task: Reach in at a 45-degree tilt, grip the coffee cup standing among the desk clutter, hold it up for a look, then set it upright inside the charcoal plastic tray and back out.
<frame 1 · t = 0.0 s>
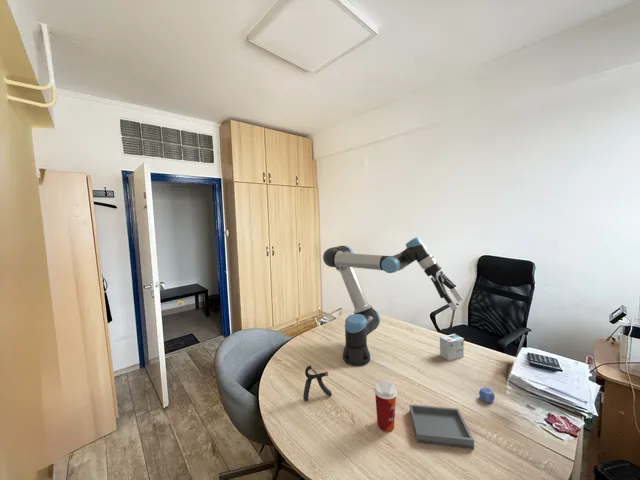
hand: (458, 304, 117), 36 cm above the table, tool tilted 35°, fingers open, 13 cm apart
light bulb box: (451, 356, 138), on the table
coffee cup: (385, 425, 94), on the table
hand grip strengthener: (317, 398, 109), on the table
decorative dice: (486, 399, 105), on the table
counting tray: (438, 428, 92), on the table
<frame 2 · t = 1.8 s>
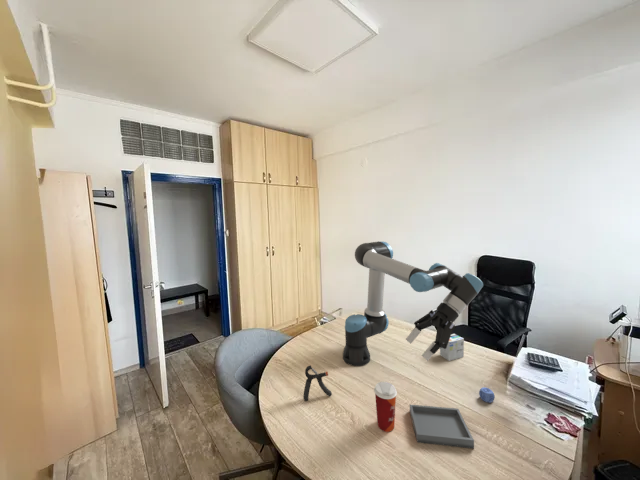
hand: (415, 349, 98), 26 cm above the table, tool tilted 45°, fingers open, 13 cm apart
nothing on the table moved.
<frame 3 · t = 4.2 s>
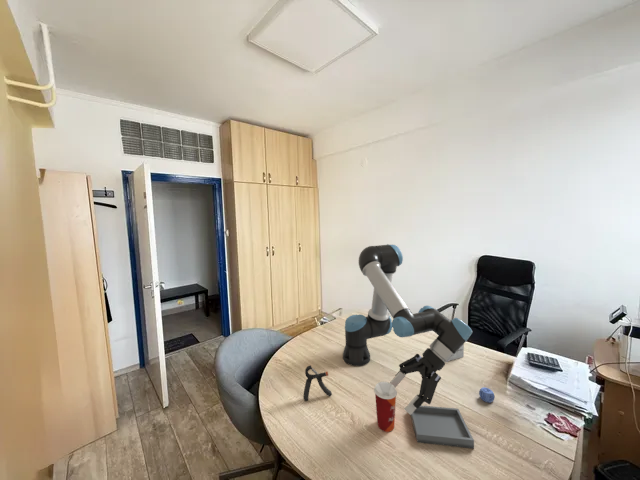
hand: (399, 398, 92), 11 cm above the table, tool tilted 45°, fingers open, 13 cm apart
nothing on the table moved.
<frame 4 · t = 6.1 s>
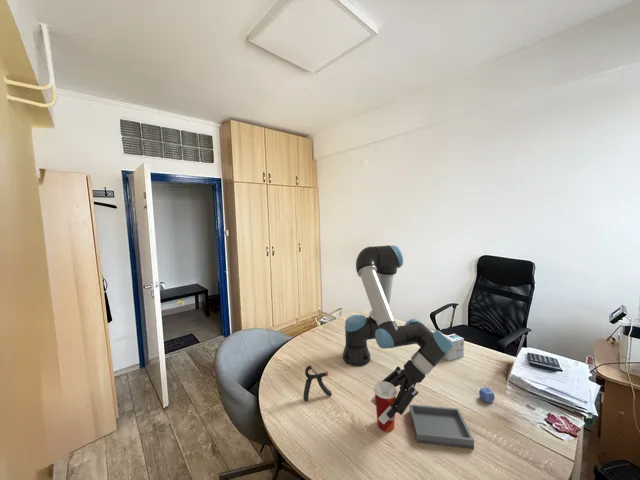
hand: (376, 411, 93), 6 cm above the table, tool tilted 45°, fingers closed on coffee cup, 8 cm apart
coffee cup: (385, 425, 94), on the table, touching gripper
everything else where it was.
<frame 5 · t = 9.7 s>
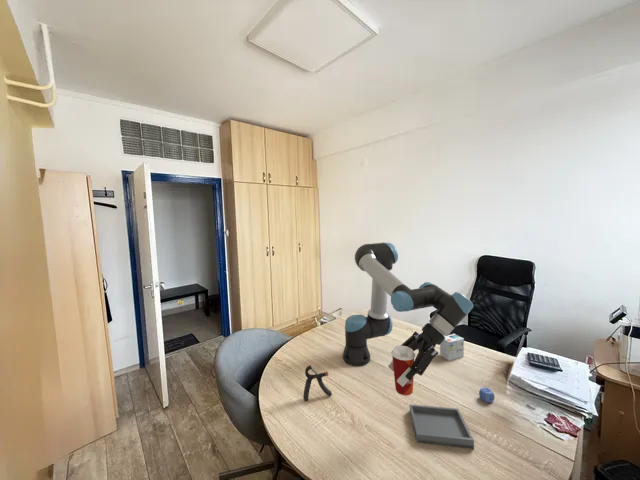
hand: (394, 375, 90), 21 cm above the table, tool tilted 45°, fingers closed on coffee cup, 8 cm apart
coffee cup: (404, 390, 91), point 15 cm above the table, touching gripper
everything else where it was.
when the fingers open (8 cm above the table, at t = 13.4 s): coffee cup drops 1 cm, resting on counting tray.
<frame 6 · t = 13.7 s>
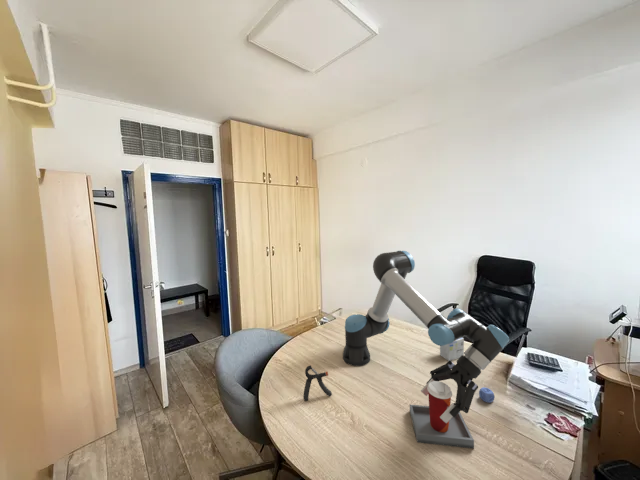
hand: (432, 405, 91), 9 cm above the table, tool tilted 45°, fingers open, 12 cm apart
coffee cup: (439, 426, 92), point 1 cm above the table, touching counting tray
everything else where it was.
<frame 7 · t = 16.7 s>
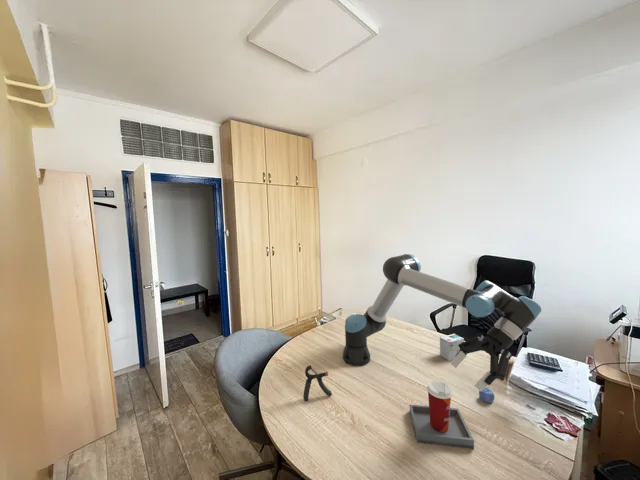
hand: (464, 376, 91), 19 cm above the table, tool tilted 45°, fingers open, 13 cm apart
nothing on the table moved.
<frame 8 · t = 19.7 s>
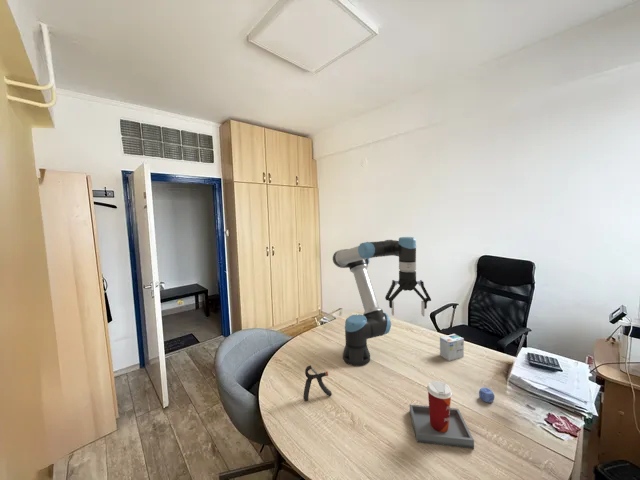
hand: (407, 314, 118), 32 cm above the table, tool pointing down, fingers open, 13 cm apart
nothing on the table moved.
at the end: coffee cup inside the target area on the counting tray (0.1 cm from its centre), point 0.8 cm above the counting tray's base; coffee cup tilted 0°; the gripper is holding nothing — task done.
